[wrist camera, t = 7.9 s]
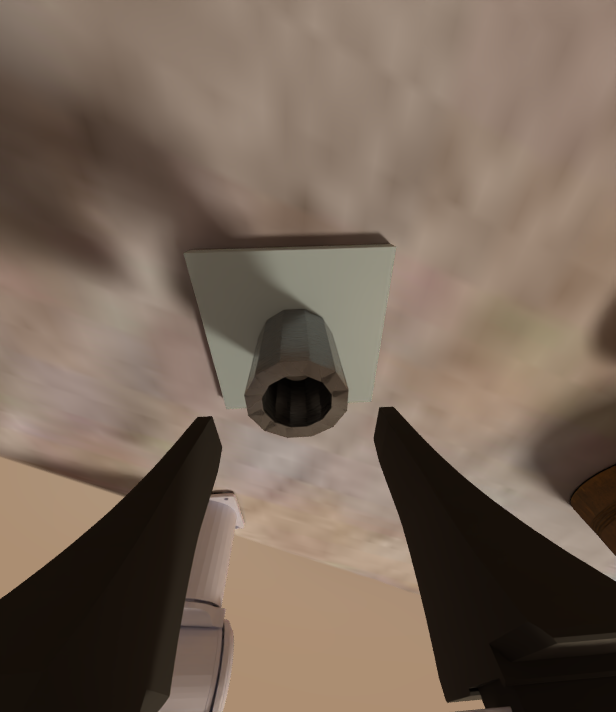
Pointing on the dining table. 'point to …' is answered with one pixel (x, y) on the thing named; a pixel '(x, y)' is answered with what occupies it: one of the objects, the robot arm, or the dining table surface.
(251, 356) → the shaft plate
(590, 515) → the wooden container
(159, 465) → the robot arm
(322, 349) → the tube
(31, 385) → the dining table surface
